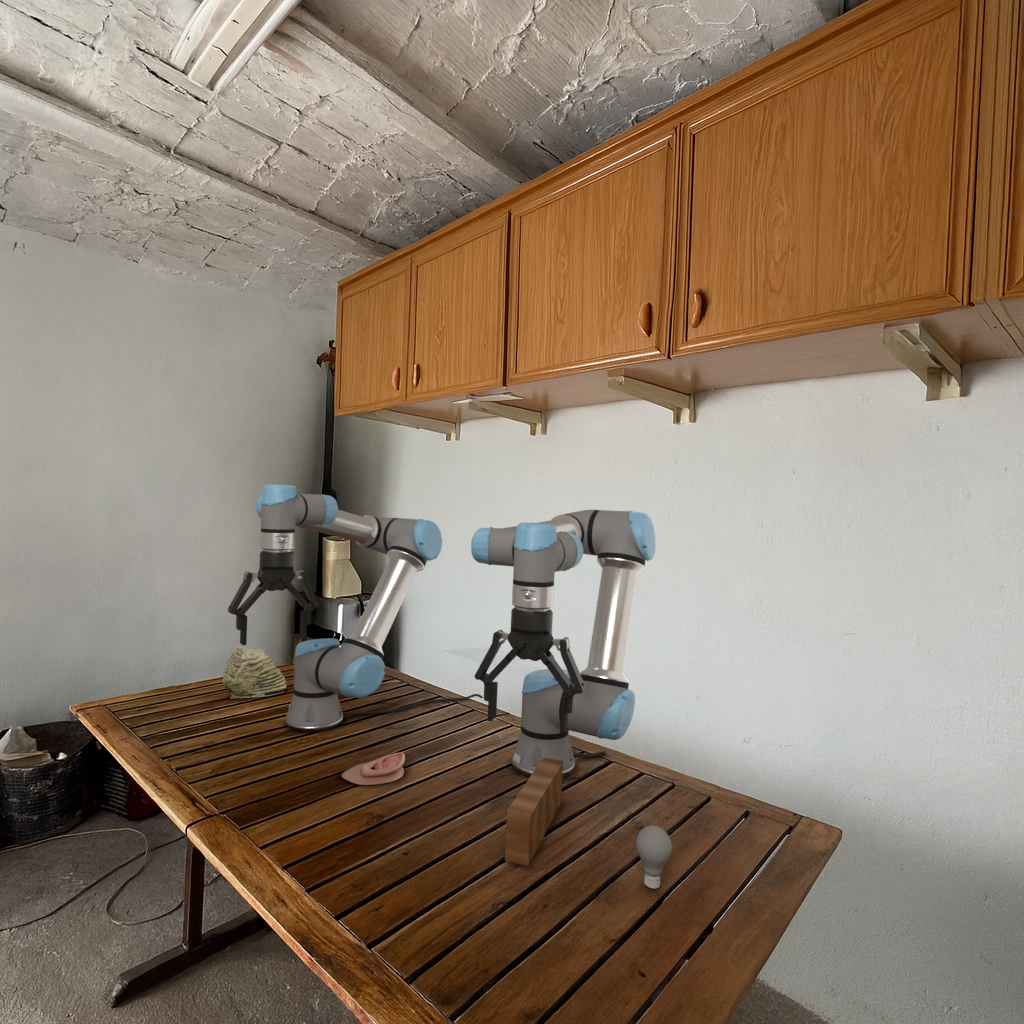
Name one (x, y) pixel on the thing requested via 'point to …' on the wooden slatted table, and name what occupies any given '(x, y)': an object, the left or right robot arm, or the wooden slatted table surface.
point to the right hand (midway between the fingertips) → (527, 724)
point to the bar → (533, 811)
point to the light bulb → (653, 853)
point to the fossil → (252, 674)
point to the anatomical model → (377, 770)
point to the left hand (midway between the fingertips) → (273, 641)
